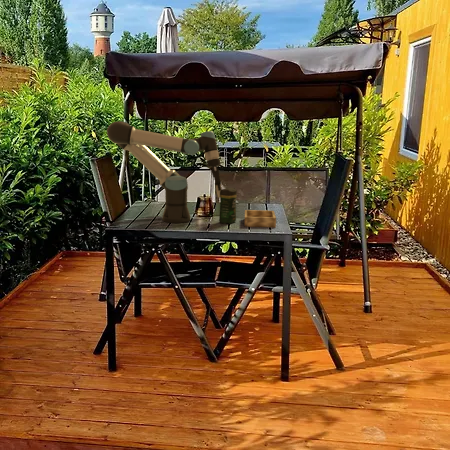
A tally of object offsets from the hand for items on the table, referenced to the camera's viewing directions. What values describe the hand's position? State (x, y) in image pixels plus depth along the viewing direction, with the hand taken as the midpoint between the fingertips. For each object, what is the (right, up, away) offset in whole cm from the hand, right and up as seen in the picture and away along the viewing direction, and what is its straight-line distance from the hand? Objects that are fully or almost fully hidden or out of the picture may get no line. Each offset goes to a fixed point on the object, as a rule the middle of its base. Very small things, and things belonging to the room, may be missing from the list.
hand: (220, 197), depth 261 cm
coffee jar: (+4, -14, -9) cm, 18 cm away
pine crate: (+21, -15, -10) cm, 27 cm away
